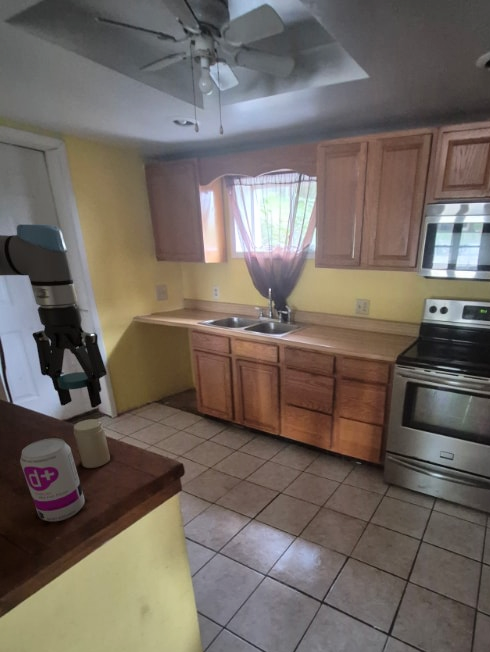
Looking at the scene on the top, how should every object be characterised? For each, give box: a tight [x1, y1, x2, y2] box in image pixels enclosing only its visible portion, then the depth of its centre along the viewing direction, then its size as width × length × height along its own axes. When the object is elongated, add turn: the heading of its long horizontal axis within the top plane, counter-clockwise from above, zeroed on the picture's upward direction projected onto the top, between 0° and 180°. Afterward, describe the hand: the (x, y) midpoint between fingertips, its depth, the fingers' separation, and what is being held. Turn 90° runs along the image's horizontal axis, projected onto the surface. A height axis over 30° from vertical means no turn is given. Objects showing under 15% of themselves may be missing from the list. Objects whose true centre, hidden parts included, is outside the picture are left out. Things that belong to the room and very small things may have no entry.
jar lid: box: [57, 371, 88, 391], centre depth 85 cm, size 7×7×2 cm
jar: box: [73, 418, 111, 469], centre depth 92 cm, size 6×6×10 cm
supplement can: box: [19, 437, 86, 522], centre depth 74 cm, size 8×8×15 cm
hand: (81, 404), depth 87 cm, fingers closed on jar lid, 7 cm apart
